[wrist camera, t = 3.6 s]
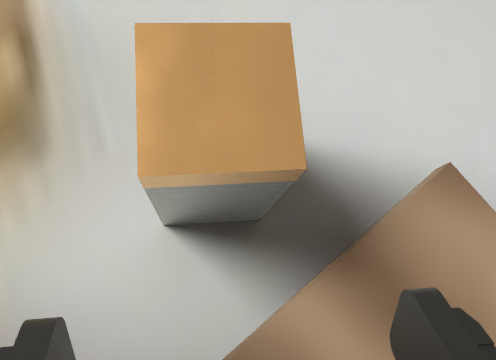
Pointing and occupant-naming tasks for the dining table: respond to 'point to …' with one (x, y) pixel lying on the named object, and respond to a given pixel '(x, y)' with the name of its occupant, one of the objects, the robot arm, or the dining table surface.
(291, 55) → the block
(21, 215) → the dining table surface
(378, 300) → the stand
